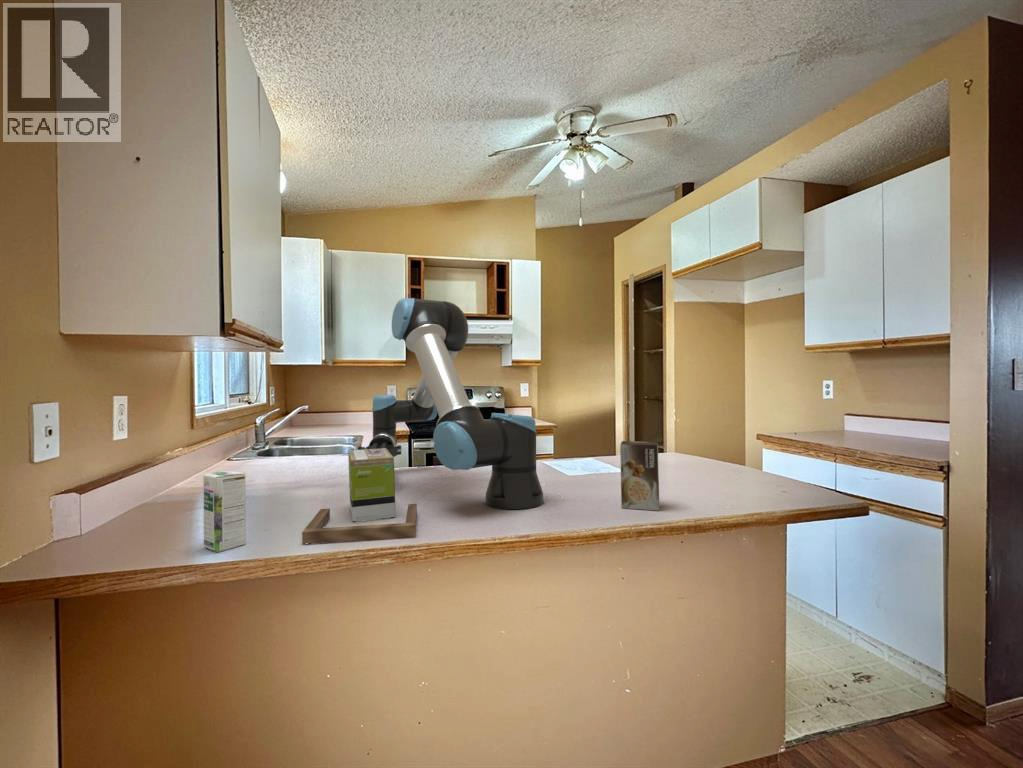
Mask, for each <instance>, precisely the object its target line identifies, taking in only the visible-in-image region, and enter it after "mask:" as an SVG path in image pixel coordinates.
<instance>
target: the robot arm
mask: <svg viewBox="0 0 1023 768" xmlns="http://www.w3.org/2000/svg"><path fill="white" fill-rule="evenodd" d="M391 333H392V337H393V338H394V339H397V340H398V341H401V340H403V341H404V344H405V346H406V348H407V349H408V350H409V351H410V352H411V353H414V355H415V358H416V360H417V362H418V365H419V367H420V368H419V369H421V373H422V374H421V377H420V378H419V382H418V384H417V387H416V389H415V391H414V393H413V396H412V399H402V400H400V399H397V397H396V396H395V395H394V394H393V395H392V394H379V395H375V396H374V397H373V398H372V407H371V408H372V409H371V411H372V438H371V440H370V442H369V444H368V446H366V447H365V446H361V445H360V446H357V450H365V449H381V448H387V450H388V451H389V452H390V454H391V455H392V456H393V457H396V456H399V455H402V445H398V438H397V423H410V422H411V423H412V422H413V423H414V422H426V421H432V420H435V419H436V417H437V415H438V419H437V422H436V427H435V429H434V431H433V435H432V436H433V437H432V439H433V440H432V441H433V443H434V444H433V449H434V452H435V454H436V457H437V459H438V460H439V462H440V463H441V464H442V465H443V466H444V467H445V468H447V469H449V470H453V471H458V470H459V471H460V470H461V471H469V470H470V469H476V468H483V467H491V475H490V478H489V482H488V485H487V488H486V491H485V504H486V505H487V506H489V507H492V508H497V509H503V510H524V509H531V508H535V507H538V506H540V505H542V504H544V491H543V488H542V486H541V481H540V479H539V477H538V473H537V435H538V432H537V425H536V420H535V419H534V417H532V416H529V415H522V414H511V413H509V414H508V413H500V412H498V413H497V412H491V416H490V418H488V419H487V418H486V419H484V417H483V414H482V412H481V410H480V408H479V407H478V406H476V405H472V403H471V402H470V399H469V397H468V395H467V392H466V389H465V388H464V385H463V383H462V380H461V379H460V376H459V374H458V372H457V369H456V367H455V364H454V362H455V359H456V357H457V355H458V354H459V352H462V351H463V350H464V348H465V345H466V344H467V341H468V339H469V338H468V336H469V323H468V319H467V317H466V314H465V313H464V312H463V310H462V309H461V308H460V307H459V306H458V305H456V304H455V303H453V302H451V301H450V302H449V301H446V300H445V301H441V300H433V299H432V300H431V299H424V298H423V299H422V298H414V297H412V298H406V297H405V298H400V299H399V300H398V301H397V303H396V304H395V306H394V308H393V313H392V317H391Z"/></svg>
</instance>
